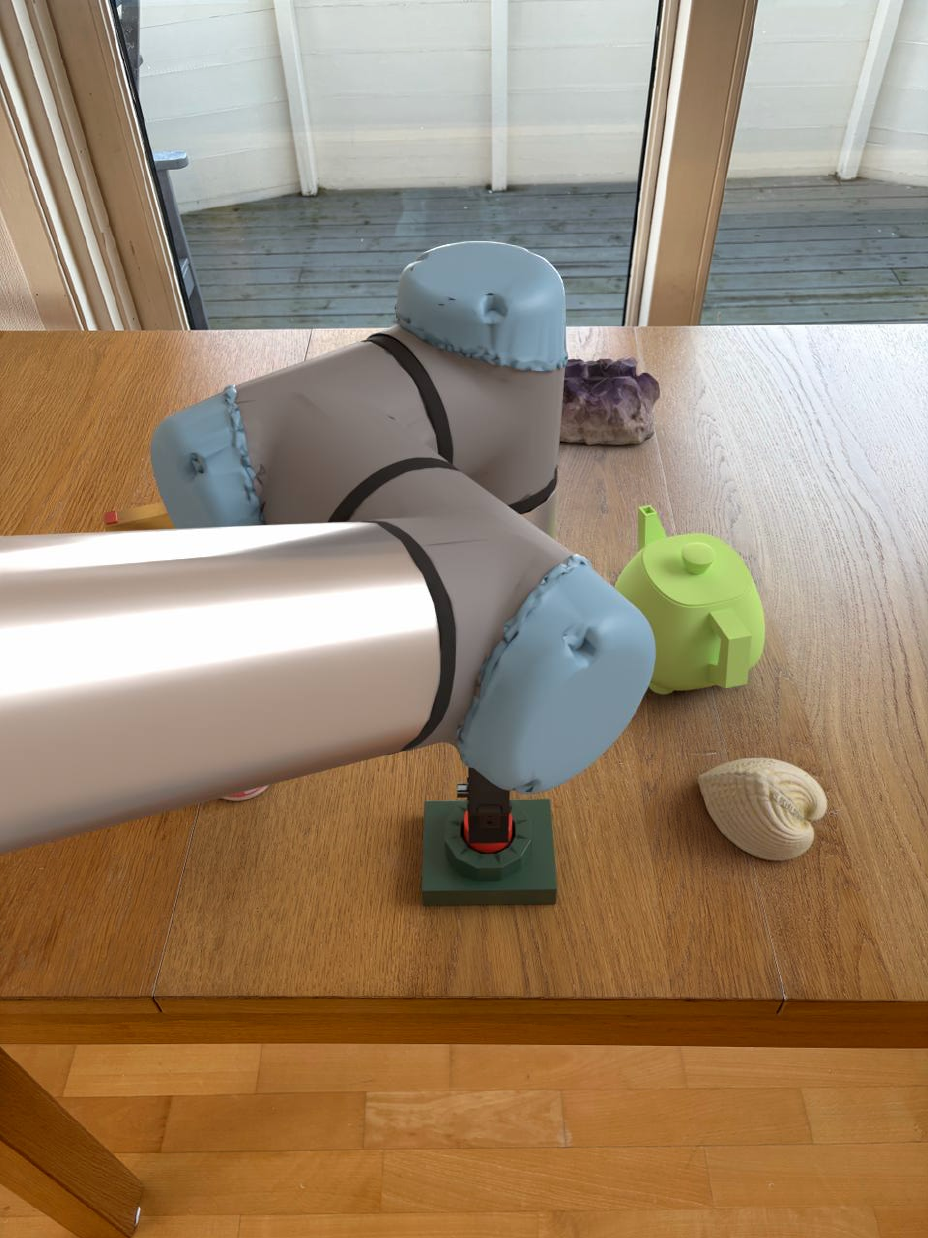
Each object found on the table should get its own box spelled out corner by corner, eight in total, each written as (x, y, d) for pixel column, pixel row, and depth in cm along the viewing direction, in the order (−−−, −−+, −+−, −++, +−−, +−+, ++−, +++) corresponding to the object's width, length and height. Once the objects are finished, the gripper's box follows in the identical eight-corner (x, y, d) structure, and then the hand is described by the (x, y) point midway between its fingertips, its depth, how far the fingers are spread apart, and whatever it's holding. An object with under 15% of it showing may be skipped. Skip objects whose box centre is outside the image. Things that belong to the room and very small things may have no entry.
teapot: (574, 596, 95) (582, 495, 86) (697, 571, 98) (717, 470, 89) (654, 749, 81) (674, 647, 73) (795, 715, 84) (831, 612, 75)
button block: (422, 906, 71) (420, 878, 69) (425, 816, 77) (423, 786, 74) (555, 904, 71) (558, 876, 68) (549, 814, 77) (551, 785, 74)
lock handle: (190, 572, 95) (168, 497, 88) (193, 584, 93) (171, 510, 87) (129, 586, 93) (102, 511, 87) (131, 599, 92) (103, 524, 86)
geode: (487, 455, 113) (483, 375, 107) (491, 414, 123) (488, 338, 117) (659, 452, 112) (665, 370, 106) (650, 410, 121) (655, 333, 115)
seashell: (813, 879, 70) (727, 820, 69) (752, 869, 78) (675, 816, 77) (858, 785, 72) (776, 726, 71) (795, 785, 80) (720, 732, 79)
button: (464, 853, 70) (463, 840, 69) (464, 812, 73) (463, 799, 72) (512, 853, 70) (513, 839, 69) (511, 812, 73) (511, 798, 72)
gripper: (422, 436, 59) (437, 681, 75) (408, 682, 44) (431, 922, 60) (542, 433, 59) (532, 679, 75) (569, 680, 44) (549, 920, 60)
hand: (487, 787), depth 68 cm, fingers open, 8 cm apart
